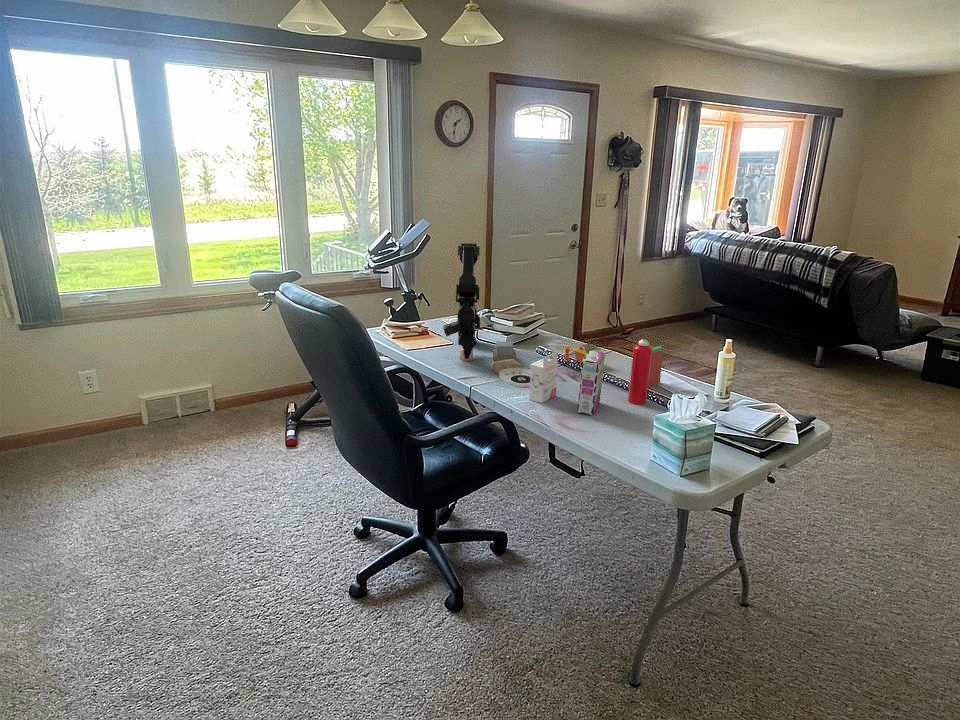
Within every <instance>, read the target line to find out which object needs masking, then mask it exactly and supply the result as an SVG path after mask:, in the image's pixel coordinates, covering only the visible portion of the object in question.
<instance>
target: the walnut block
mask: <svg viewBox="0 0 960 720" xmlns="http://www.w3.org/2000/svg"><path fill="white" fill-rule="evenodd" d="M510 359H514V360H516V361H517V362H518V359H517V353H516V351H515V349H513V356H497V355H496V351H495V349H493V350H492V360H493V362H496V361H503V360H510Z"/></svg>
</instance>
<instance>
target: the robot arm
mask: <svg viewBox="0 0 960 720" xmlns="http://www.w3.org/2000/svg"><path fill="white" fill-rule="evenodd" d="M477 245H478V244H477V242H473V243H472V242H461V245H458V246H457V256H459V260H460V263H461V266H462V269H461V272H462V273H461V275H460V276H459V277H458V283H457V284H456V286H455V291H456V293H455V302H456V303H458V310H457V311H458V312H457V319H456V320H455V321H452V322H450V323H446V324H444V325H443V327H442V328H443V332H444V334H445V336H446V337H449V336H452V335H454V334H458V340H457V341H458V343H457V344H458V346H462V347H463V351H464V356H465V359H468V358H469V356H470V353H471V351H472V349H473V350H474V347H475V346H476V345H477V338H476V330H479V329H480V328H481V317H480V315H479V314H478V311H477V307H476V304H477V303H478V301H479V300H480V286H479V285H478V284H477V278H476V277H475V276H474V275H475V274H474V273H475V272H474V271H475V268H474V267H475V265H476V263H477V261H478V260H479V256H480V255H481V254H480V253H481V252H480V250H481V248H480V247H481V246H479V245H478V246H477Z"/></svg>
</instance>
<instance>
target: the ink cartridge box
mask: <svg viewBox="0 0 960 720" xmlns="http://www.w3.org/2000/svg"><path fill="white" fill-rule="evenodd" d="M558 362H559V361H558V351H554V352H552V353H551V354H548V355H546V356H544V357H543V358H541V359H540V360H537V361H535V362H532V363H531V364H529V365H530V369H529V370H530V387H529V398H528V399H529V400H530V401H532V402H533V401H534V402H537V403H540V404H543V403H545V402H547V401H548V400H551V399H552V398H553V397H555V396H556V395H557V383H558V382H557V380H558V366H559V365H558Z"/></svg>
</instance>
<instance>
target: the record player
mask: <svg viewBox="0 0 960 720" xmlns="http://www.w3.org/2000/svg"><path fill="white" fill-rule="evenodd" d="M490 369H491V370H492V371H493V372H494V373H496V374H498V377H499V379H501V381H503V382H504V383H506V384H508V385H509V386H512V387H516V388H530V369H527V368H524V365H523V364H521V362H518V360H517V361H516V360H514V359H510V360H503V361H496V362H494V361H492V362H491V365H490Z"/></svg>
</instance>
